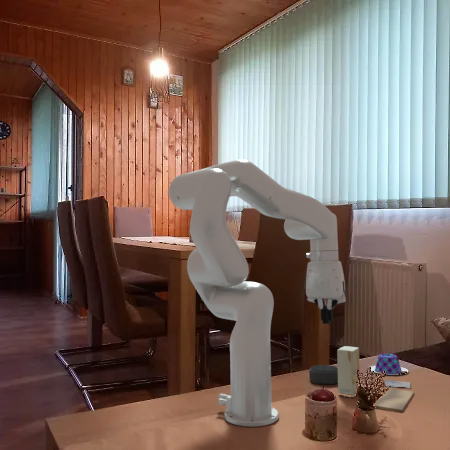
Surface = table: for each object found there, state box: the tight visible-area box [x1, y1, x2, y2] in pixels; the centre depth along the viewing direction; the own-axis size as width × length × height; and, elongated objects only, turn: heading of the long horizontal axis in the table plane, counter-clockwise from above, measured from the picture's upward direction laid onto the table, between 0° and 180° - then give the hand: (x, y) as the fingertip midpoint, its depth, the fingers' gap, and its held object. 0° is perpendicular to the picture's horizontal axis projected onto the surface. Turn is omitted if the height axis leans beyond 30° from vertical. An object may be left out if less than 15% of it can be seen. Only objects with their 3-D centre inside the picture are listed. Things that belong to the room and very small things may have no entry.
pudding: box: [370, 353, 409, 376], centre depth 150 cm, size 12×12×5 cm
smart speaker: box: [308, 364, 338, 386], centre depth 140 cm, size 9×9×4 cm
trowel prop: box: [373, 376, 411, 389], centre depth 136 cm, size 16×5×2 cm, turn 69°
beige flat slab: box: [355, 387, 415, 413], centre depth 122 cm, size 11×16×1 cm
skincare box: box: [336, 345, 361, 396], centre depth 127 cm, size 6×4×12 cm
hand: (327, 323), depth 131 cm, fingers closed
